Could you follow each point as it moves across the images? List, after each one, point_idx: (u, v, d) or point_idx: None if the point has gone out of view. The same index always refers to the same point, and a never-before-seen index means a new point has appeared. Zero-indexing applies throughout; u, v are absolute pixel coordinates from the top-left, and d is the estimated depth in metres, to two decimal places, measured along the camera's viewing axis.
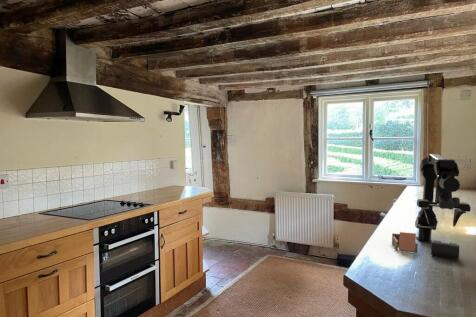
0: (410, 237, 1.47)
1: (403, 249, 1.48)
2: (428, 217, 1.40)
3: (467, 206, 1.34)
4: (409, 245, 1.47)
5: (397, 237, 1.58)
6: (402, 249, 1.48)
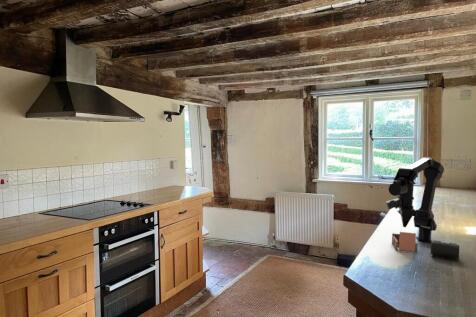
0: (410, 237, 1.47)
1: (403, 249, 1.48)
2: None
3: (402, 210, 1.47)
4: (409, 245, 1.47)
5: (397, 237, 1.58)
6: (402, 249, 1.48)
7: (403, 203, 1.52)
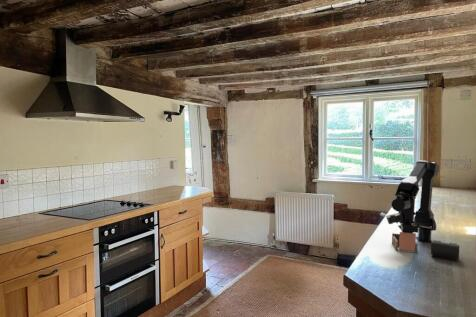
0: (410, 237, 1.47)
1: (403, 249, 1.48)
2: None
3: (403, 226, 1.43)
4: (409, 245, 1.47)
5: (397, 237, 1.58)
6: (402, 249, 1.48)
7: (404, 218, 1.48)
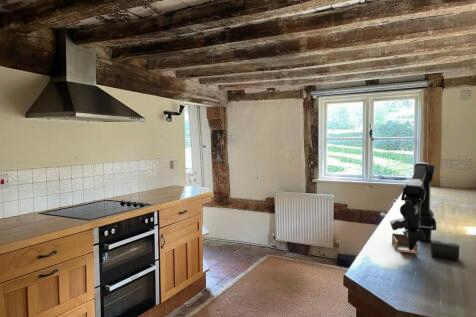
0: None
1: None
2: None
3: (408, 232, 1.33)
4: (410, 251, 1.45)
5: (397, 237, 1.58)
6: None
7: (409, 224, 1.38)
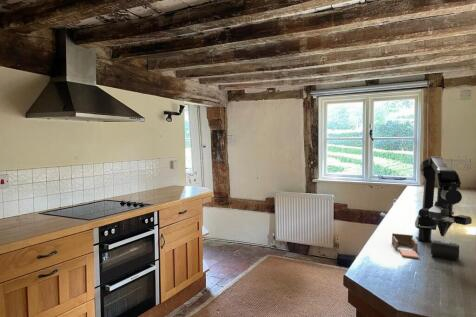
0: None
1: None
2: (439, 229, 1.39)
3: (461, 219, 1.30)
4: None
5: (397, 237, 1.58)
6: None
7: (448, 210, 1.36)
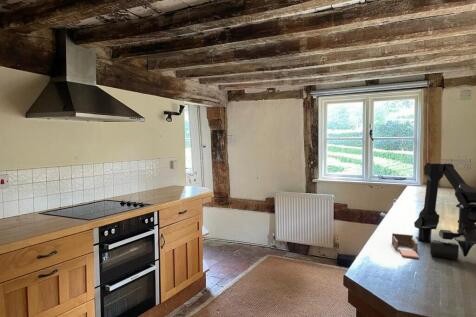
0: None
1: None
2: (464, 250, 1.38)
3: None
4: None
5: (397, 237, 1.58)
6: None
7: None
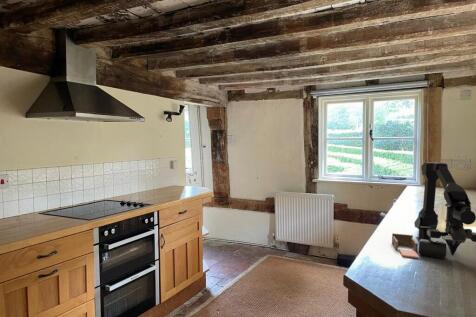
0: None
1: None
2: (451, 248, 1.39)
3: None
4: None
5: (397, 237, 1.58)
6: None
7: None
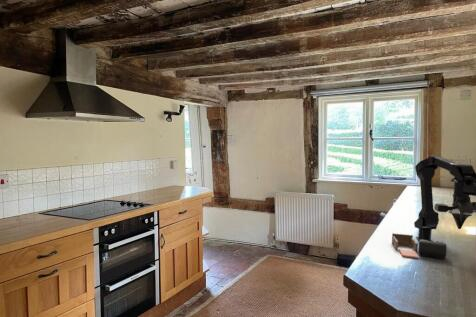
0: None
1: None
2: (458, 222, 1.43)
3: None
4: None
5: (397, 237, 1.58)
6: None
7: None
